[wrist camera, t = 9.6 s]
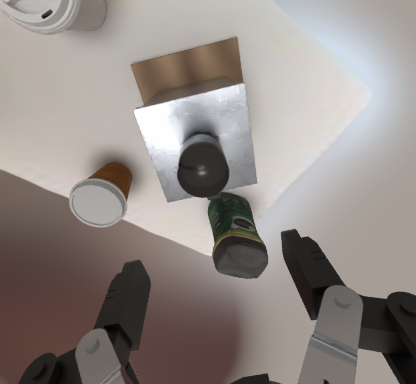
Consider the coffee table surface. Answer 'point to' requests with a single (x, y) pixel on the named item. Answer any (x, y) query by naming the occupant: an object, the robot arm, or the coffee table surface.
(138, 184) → the coffee table surface
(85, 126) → the coffee table surface
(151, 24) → the coffee table surface
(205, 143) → the plunger
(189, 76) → the walnut board
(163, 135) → the silver block with slot
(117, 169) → the disposable coffee cup
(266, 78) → the coffee table surface
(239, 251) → the coffee jar
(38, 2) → the coffee cup
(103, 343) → the robot arm
